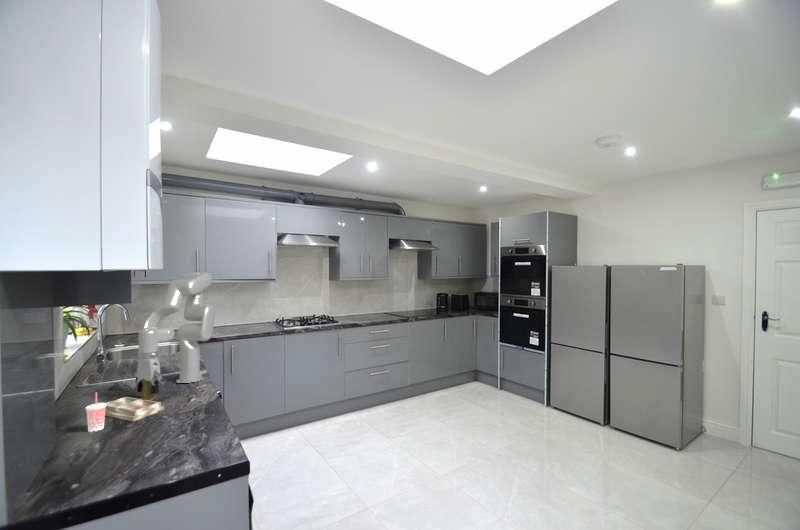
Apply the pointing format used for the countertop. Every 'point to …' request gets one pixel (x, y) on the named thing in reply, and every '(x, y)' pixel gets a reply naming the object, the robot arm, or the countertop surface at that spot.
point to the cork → (147, 391)
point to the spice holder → (132, 408)
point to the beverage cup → (96, 416)
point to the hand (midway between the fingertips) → (148, 392)
